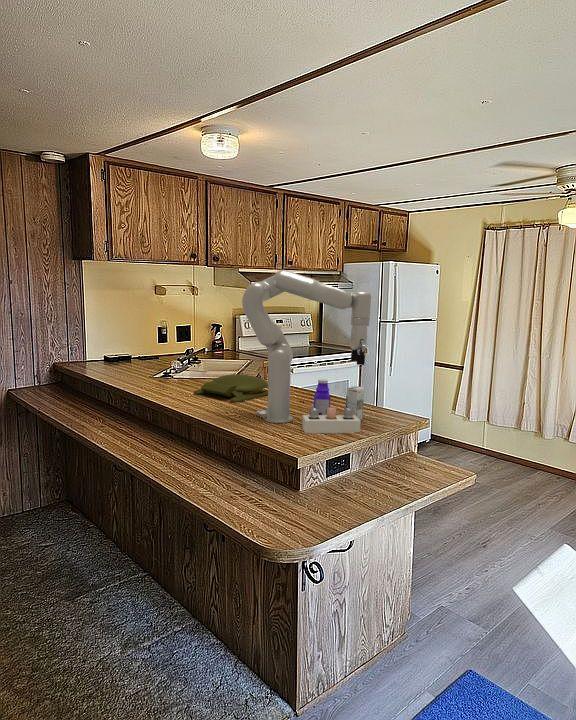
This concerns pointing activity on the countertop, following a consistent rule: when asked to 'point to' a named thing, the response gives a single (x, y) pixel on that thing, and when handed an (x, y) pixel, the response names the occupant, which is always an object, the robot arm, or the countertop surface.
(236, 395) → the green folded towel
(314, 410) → the left grey plug
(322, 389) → the bottle
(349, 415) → the grey domed plug
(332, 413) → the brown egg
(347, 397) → the syrup box
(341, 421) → the block
